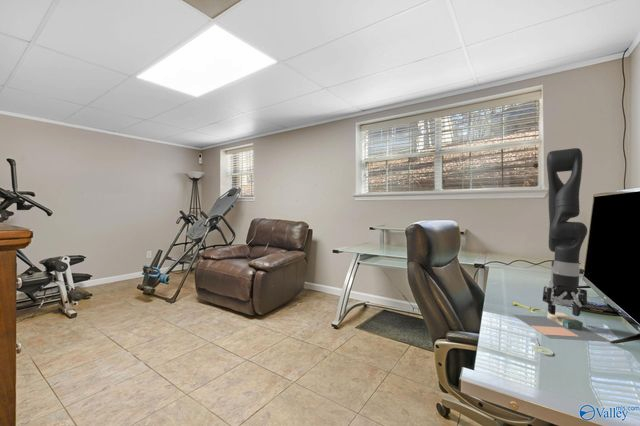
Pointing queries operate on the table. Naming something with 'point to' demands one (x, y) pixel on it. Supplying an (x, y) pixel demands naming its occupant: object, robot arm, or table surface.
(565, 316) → the tile
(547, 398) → the table surface
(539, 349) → the sign
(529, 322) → the mat
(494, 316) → the table surface
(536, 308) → the key
